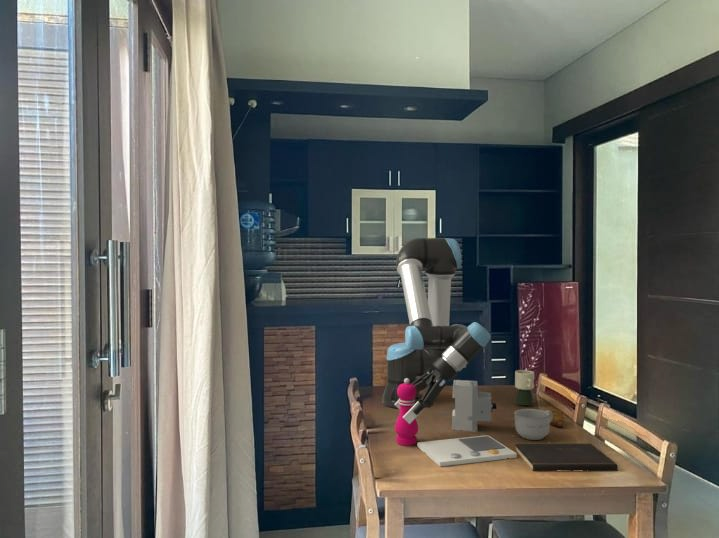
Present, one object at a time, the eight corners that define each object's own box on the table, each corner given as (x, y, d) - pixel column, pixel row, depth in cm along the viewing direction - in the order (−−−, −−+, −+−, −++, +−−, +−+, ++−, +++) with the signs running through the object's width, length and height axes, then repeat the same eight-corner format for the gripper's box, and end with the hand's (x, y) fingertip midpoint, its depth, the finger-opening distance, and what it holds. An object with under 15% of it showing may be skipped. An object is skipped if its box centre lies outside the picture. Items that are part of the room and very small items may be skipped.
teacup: (526, 444, 163) (526, 418, 163) (507, 433, 174) (507, 408, 174) (565, 440, 167) (565, 414, 167) (544, 429, 178) (544, 405, 177)
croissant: (571, 429, 178) (571, 414, 178) (551, 429, 178) (551, 414, 178) (555, 416, 192) (555, 403, 192) (536, 417, 192) (537, 403, 191)
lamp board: (417, 446, 161) (417, 441, 161) (488, 438, 168) (488, 433, 168) (439, 466, 146) (439, 460, 146) (516, 457, 153) (516, 452, 153)
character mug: (539, 408, 201) (539, 374, 201) (521, 409, 200) (521, 375, 200) (527, 401, 212) (527, 368, 211) (509, 401, 211) (510, 369, 211)
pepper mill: (411, 437, 169) (412, 374, 169) (422, 444, 162) (422, 379, 162) (390, 440, 167) (391, 376, 166) (400, 448, 160) (401, 381, 159)
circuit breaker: (496, 433, 174) (496, 387, 173) (452, 429, 177) (452, 385, 176) (495, 425, 181) (495, 382, 181) (452, 422, 184) (453, 379, 184)
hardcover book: (514, 451, 159) (514, 443, 159) (590, 451, 159) (591, 443, 159) (532, 473, 143) (533, 464, 143) (617, 473, 144) (617, 464, 143)
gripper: (470, 382, 153) (419, 435, 152) (446, 364, 178) (402, 410, 177) (452, 364, 152) (400, 417, 151) (431, 348, 177) (386, 394, 176)
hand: (401, 413), depth 164 cm, fingers open, 13 cm apart
